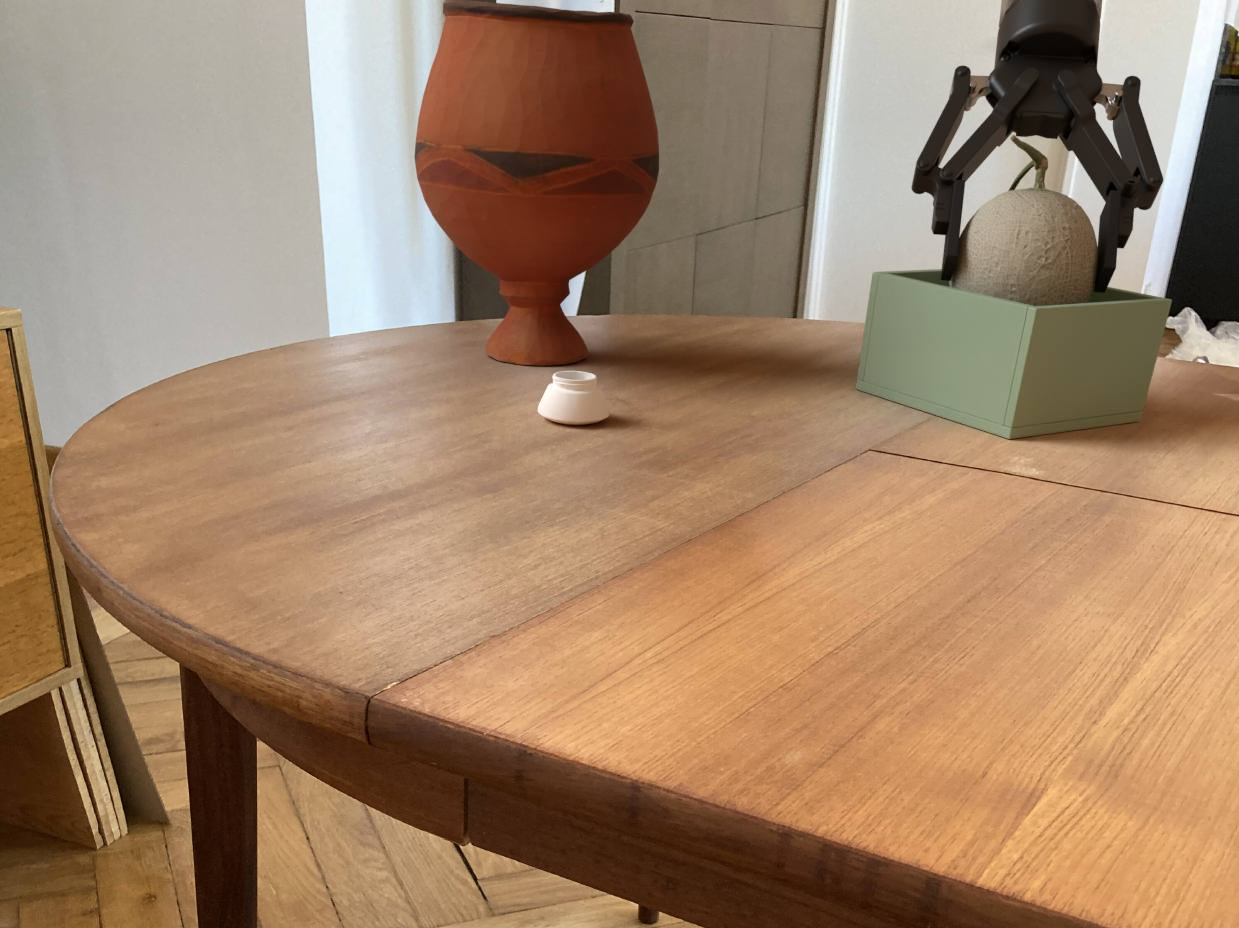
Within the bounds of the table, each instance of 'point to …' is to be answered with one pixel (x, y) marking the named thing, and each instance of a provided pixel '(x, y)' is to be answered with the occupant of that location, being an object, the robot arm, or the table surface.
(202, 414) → the table surface
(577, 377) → the white jar
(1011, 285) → the fruit
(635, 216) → the goblet
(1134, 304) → the bin
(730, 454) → the table surface
